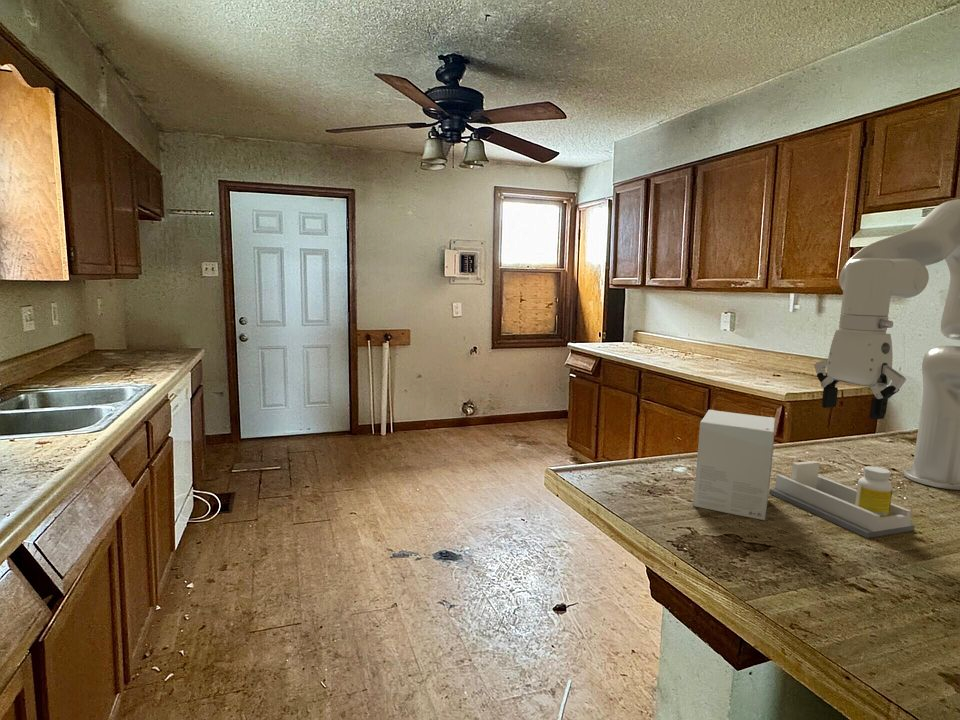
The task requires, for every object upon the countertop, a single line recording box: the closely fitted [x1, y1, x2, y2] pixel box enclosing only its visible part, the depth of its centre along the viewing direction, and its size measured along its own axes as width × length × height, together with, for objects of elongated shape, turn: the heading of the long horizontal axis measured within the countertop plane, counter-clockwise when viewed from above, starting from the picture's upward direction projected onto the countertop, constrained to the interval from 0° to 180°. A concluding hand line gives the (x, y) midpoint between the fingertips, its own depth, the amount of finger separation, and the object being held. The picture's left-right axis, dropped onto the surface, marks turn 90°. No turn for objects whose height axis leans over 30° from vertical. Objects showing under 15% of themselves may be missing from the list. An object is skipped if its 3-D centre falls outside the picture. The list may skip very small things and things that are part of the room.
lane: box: [768, 474, 916, 539], centre depth 115 cm, size 12×22×4 cm, turn 19°
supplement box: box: [692, 409, 776, 521], centre depth 116 cm, size 13×13×18 cm
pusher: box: [790, 460, 820, 489], centre depth 122 cm, size 6×1×6 cm, turn 109°
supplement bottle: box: [855, 465, 893, 517], centre depth 108 cm, size 5×5×10 cm
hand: (851, 412), depth 112 cm, fingers open, 9 cm apart
